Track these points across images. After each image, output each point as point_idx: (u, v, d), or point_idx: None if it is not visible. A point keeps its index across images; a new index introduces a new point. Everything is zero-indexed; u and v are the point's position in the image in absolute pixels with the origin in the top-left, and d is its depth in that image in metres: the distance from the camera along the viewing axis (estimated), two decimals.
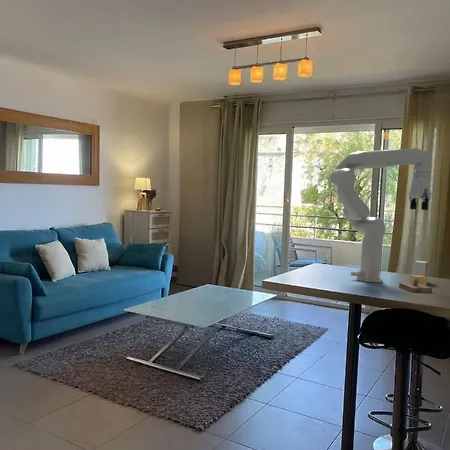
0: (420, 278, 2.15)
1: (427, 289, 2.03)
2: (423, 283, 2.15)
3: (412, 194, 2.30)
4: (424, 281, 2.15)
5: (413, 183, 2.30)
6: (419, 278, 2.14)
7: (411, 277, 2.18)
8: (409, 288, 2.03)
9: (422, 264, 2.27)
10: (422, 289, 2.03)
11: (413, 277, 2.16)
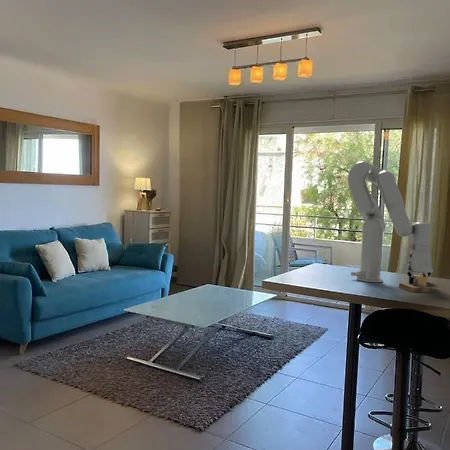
0: (420, 278, 2.15)
1: (427, 289, 2.03)
2: (423, 283, 2.15)
3: (418, 269, 2.14)
4: (424, 281, 2.15)
5: (419, 257, 2.14)
6: (419, 278, 2.14)
7: None
8: (409, 288, 2.03)
9: None
10: (422, 289, 2.03)
11: None
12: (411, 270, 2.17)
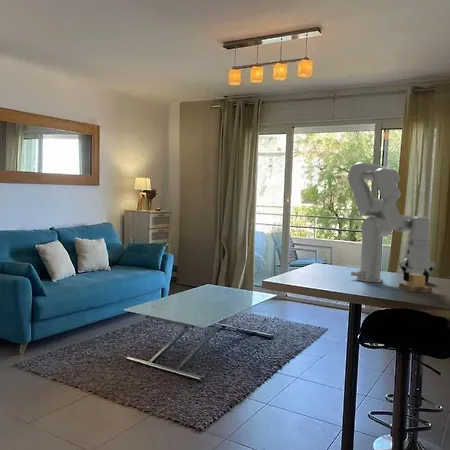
0: (418, 277, 2.04)
1: (427, 289, 2.03)
2: (421, 282, 2.05)
3: (416, 265, 2.04)
4: (422, 280, 2.05)
5: (417, 253, 2.04)
6: (417, 277, 2.04)
7: (409, 276, 2.08)
8: (409, 288, 2.03)
9: None
10: (422, 289, 2.03)
11: (411, 276, 2.06)
12: (407, 265, 2.07)
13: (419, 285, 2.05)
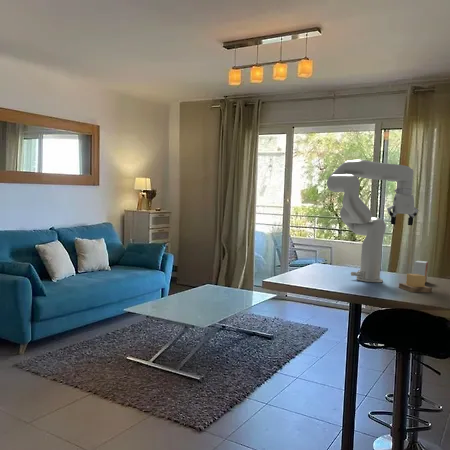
0: (418, 277, 2.04)
1: (427, 289, 2.03)
2: (421, 282, 2.05)
3: (402, 210, 2.33)
4: (422, 280, 2.05)
5: (403, 199, 2.33)
6: (417, 277, 2.04)
7: (409, 276, 2.08)
8: (409, 288, 2.03)
9: (422, 264, 2.27)
10: (422, 289, 2.03)
11: (411, 276, 2.06)
12: (394, 211, 2.36)
13: (419, 285, 2.05)
